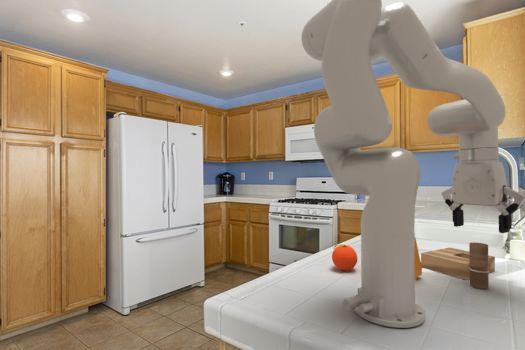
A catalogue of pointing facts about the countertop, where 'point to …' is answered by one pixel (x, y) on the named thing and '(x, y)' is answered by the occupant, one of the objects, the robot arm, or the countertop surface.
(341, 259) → the clementine
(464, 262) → the board
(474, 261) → the peg
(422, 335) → the countertop surface
